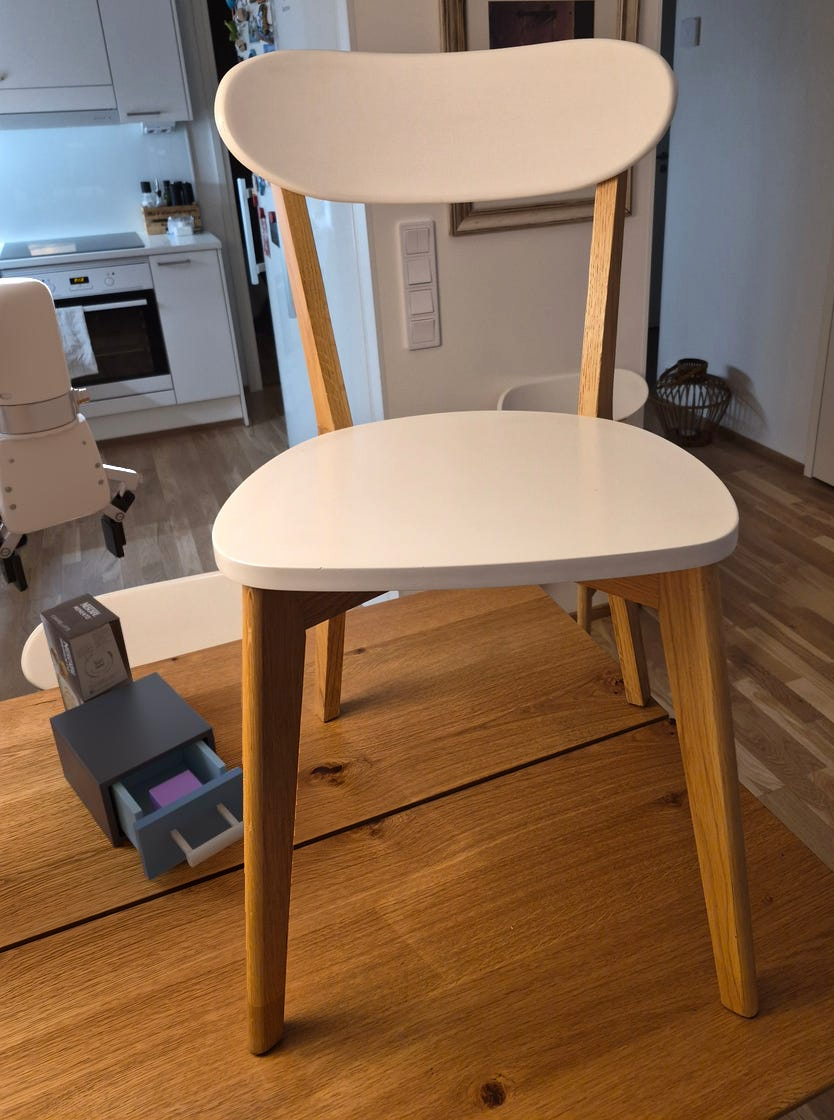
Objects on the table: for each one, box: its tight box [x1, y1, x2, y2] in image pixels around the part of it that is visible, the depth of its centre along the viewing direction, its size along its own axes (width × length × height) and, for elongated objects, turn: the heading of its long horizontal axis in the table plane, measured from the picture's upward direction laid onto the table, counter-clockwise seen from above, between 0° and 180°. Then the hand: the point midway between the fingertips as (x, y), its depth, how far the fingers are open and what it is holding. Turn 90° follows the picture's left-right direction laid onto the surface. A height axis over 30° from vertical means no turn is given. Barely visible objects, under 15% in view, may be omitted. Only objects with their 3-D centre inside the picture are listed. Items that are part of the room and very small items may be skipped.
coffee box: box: [39, 592, 134, 712], centre depth 106 cm, size 9×6×16 cm
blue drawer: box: [108, 740, 245, 882], centre depth 90 cm, size 19×11×7 cm, turn 44°
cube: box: [149, 770, 203, 812], centre depth 90 cm, size 4×4×4 cm
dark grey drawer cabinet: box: [49, 671, 218, 848], centre depth 97 cm, size 15×13×9 cm
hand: (69, 569), depth 88 cm, fingers open, 9 cm apart
